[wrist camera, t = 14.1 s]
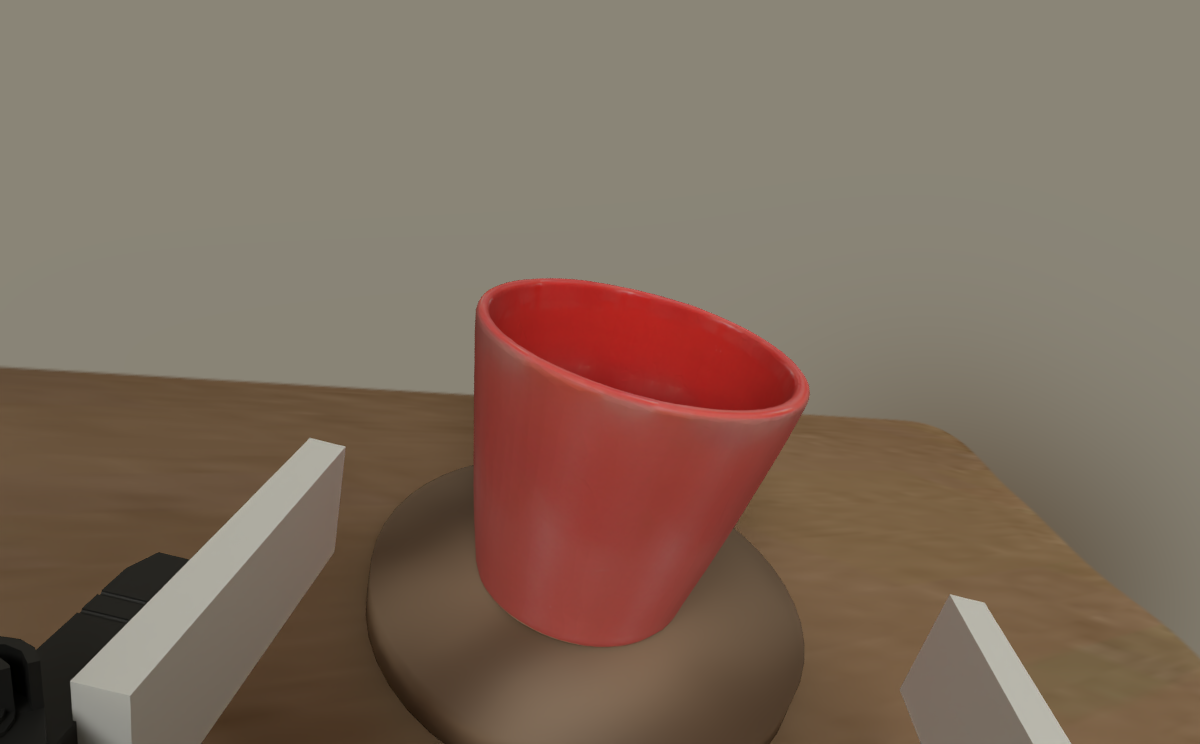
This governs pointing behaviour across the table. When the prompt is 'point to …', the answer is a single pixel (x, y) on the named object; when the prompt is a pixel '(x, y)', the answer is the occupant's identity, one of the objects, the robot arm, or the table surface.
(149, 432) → the table surface
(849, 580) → the table surface
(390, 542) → the brown plate
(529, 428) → the flower pot
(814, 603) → the table surface
